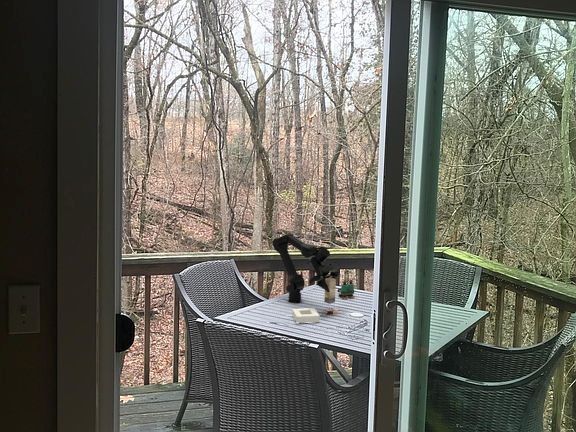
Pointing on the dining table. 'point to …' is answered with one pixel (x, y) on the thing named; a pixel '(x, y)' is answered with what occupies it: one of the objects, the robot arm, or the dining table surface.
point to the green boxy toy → (347, 290)
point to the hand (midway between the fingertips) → (331, 291)
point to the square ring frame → (305, 315)
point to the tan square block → (332, 286)
